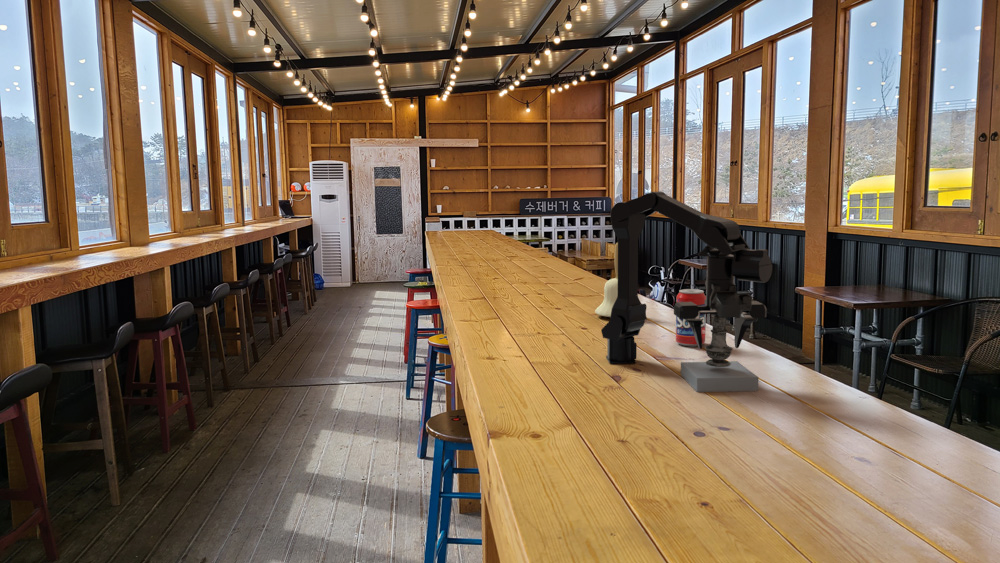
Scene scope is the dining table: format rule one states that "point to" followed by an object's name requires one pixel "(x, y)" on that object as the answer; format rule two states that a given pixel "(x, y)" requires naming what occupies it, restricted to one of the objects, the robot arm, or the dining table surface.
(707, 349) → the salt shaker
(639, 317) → the robot arm
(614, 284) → the handbell
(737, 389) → the riser
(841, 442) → the dining table surface
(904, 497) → the dining table surface
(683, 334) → the soda can
